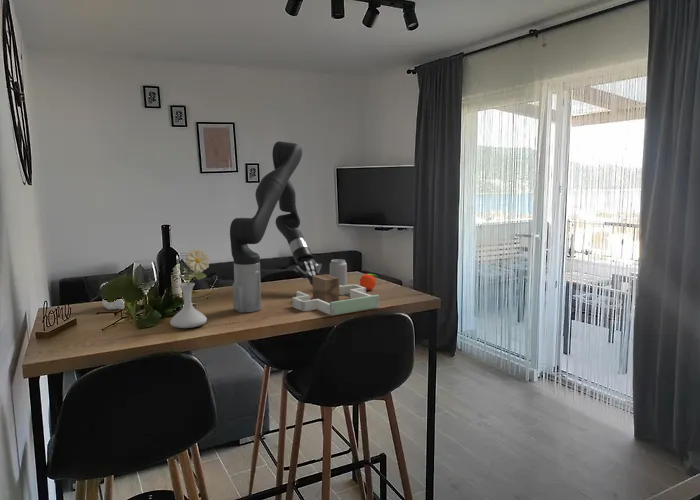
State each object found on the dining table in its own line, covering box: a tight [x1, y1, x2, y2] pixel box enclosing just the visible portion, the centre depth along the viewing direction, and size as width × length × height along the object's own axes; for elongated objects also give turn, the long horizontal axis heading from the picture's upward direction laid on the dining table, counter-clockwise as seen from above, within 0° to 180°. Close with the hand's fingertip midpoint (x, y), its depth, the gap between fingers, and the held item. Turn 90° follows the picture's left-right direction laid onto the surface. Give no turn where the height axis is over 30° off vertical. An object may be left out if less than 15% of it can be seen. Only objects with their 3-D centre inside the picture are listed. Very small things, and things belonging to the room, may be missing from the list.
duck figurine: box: [100, 281, 126, 311], centre depth 184 cm, size 12×8×11 cm
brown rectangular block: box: [312, 274, 340, 303], centre depth 197 cm, size 6×10×9 cm, turn 33°
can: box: [329, 258, 348, 286], centre depth 219 cm, size 8×8×12 cm
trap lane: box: [291, 283, 380, 316], centre depth 190 cm, size 32×27×4 cm
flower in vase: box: [169, 248, 211, 329], centre depth 161 cm, size 13×11×25 cm
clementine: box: [359, 273, 379, 291], centre depth 213 cm, size 8×7×7 cm
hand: (315, 284), depth 203 cm, fingers closed
